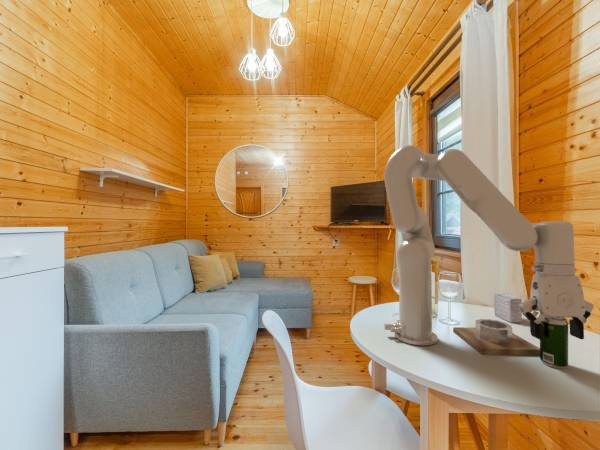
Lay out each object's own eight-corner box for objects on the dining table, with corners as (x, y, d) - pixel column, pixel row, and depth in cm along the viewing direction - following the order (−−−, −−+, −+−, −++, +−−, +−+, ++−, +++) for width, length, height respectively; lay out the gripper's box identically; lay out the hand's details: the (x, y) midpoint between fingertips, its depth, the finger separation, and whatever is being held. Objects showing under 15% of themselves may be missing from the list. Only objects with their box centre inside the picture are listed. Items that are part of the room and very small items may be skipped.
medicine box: (522, 322, 102) (522, 298, 102) (510, 323, 102) (510, 299, 102) (505, 315, 110) (505, 293, 110) (494, 315, 110) (494, 293, 110)
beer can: (564, 371, 69) (564, 322, 69) (536, 362, 73) (536, 316, 73) (571, 365, 72) (571, 318, 72) (544, 357, 76) (544, 312, 76)
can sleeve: (486, 343, 82) (486, 329, 82) (469, 331, 91) (469, 319, 91) (519, 343, 81) (519, 330, 81) (499, 331, 90) (499, 319, 90)
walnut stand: (481, 354, 78) (481, 348, 78) (453, 331, 94) (453, 327, 94) (542, 355, 78) (542, 349, 77) (503, 332, 93) (503, 327, 93)
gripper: (530, 273, 69) (532, 344, 69) (605, 271, 68) (607, 343, 68) (509, 268, 76) (511, 332, 76) (576, 266, 76) (578, 331, 75)
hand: (556, 337), depth 72 cm, fingers open, 9 cm apart
